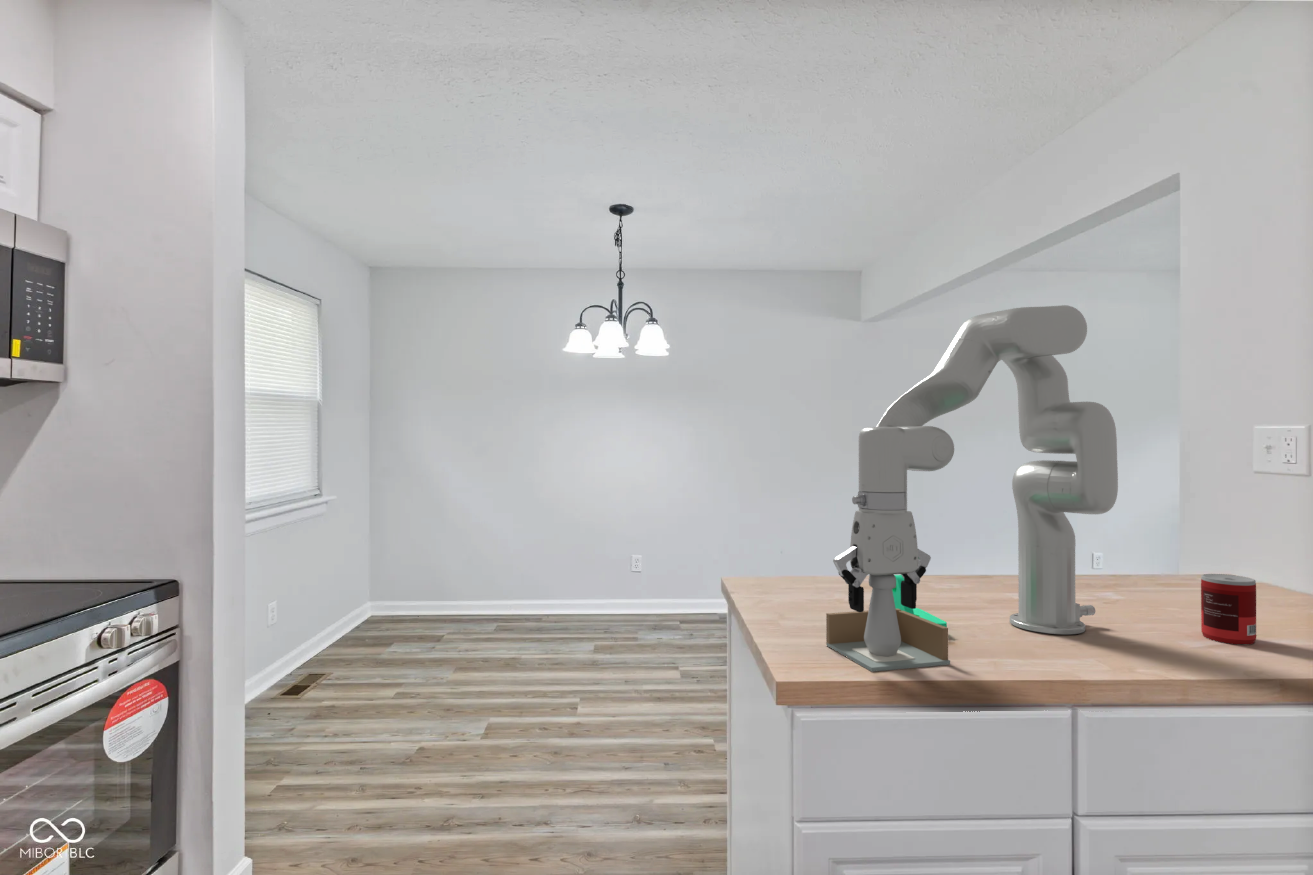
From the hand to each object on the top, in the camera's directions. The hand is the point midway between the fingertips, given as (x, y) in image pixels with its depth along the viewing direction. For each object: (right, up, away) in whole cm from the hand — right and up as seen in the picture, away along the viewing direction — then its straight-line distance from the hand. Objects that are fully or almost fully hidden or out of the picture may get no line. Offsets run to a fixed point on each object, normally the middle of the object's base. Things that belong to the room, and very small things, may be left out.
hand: (882, 608), depth 113 cm
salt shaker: (0, -7, 0) cm, 7 cm away
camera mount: (+12, -9, +18) cm, 23 cm away
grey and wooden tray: (+1, -8, +2) cm, 8 cm away
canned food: (+66, -9, +12) cm, 67 cm away
